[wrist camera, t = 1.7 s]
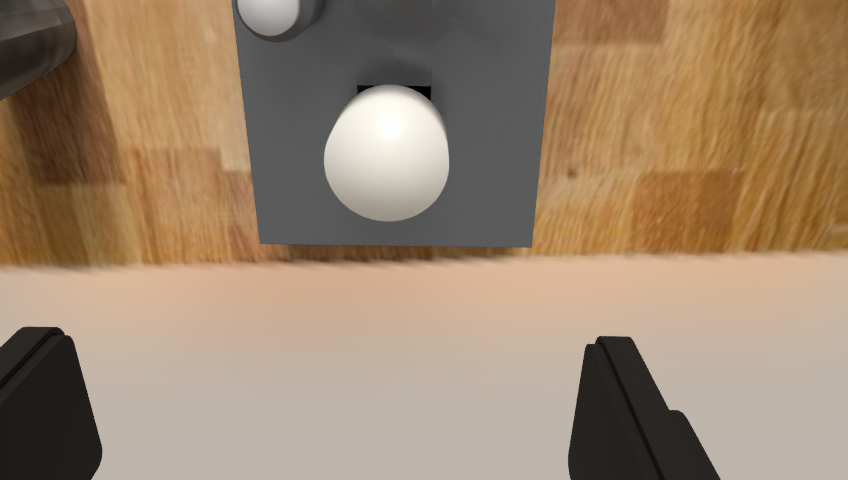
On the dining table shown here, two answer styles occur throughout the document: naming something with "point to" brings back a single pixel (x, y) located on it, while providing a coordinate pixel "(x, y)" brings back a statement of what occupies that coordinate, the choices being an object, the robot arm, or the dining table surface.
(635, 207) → the dining table surface
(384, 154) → the cream knob
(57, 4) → the beverage cup
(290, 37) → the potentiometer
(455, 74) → the mount
